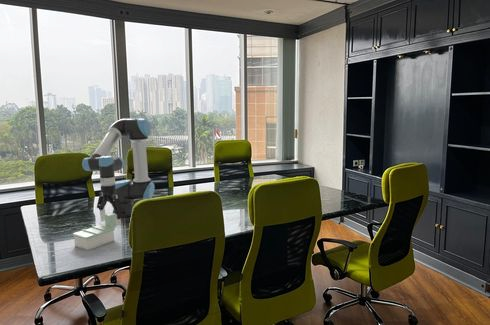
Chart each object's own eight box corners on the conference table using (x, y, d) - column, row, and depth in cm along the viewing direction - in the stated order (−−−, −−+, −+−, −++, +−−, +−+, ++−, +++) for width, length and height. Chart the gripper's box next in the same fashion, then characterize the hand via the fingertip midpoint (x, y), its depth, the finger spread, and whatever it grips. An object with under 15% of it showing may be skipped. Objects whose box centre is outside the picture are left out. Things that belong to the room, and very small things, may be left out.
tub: (75, 246, 193) (74, 235, 192) (101, 237, 206) (101, 227, 205) (87, 250, 187) (86, 239, 186) (114, 241, 200) (113, 230, 199)
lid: (72, 235, 192) (71, 221, 191) (107, 224, 209) (106, 211, 208) (86, 239, 186) (84, 225, 184) (120, 228, 203) (119, 214, 202)
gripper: (88, 183, 205) (91, 221, 208) (116, 188, 191) (119, 228, 194) (100, 181, 211) (102, 217, 214) (128, 185, 197) (130, 224, 200)
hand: (110, 222), depth 204 cm, fingers open, 12 cm apart
